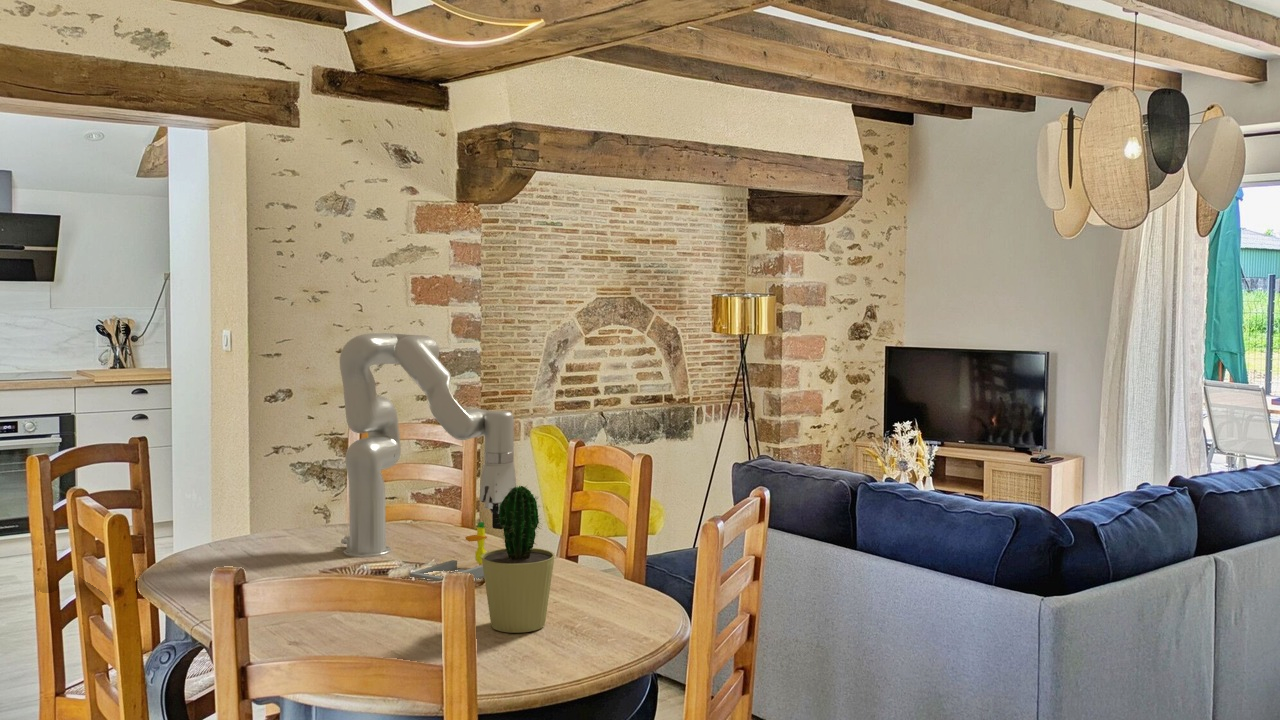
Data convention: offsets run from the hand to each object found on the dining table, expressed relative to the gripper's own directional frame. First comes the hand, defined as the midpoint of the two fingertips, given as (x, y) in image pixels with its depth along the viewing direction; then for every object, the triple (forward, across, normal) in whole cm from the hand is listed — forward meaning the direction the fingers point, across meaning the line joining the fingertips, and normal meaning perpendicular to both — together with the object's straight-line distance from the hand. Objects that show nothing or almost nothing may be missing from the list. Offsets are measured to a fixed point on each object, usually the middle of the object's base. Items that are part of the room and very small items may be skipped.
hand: (499, 528), depth 275 cm
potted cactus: (+10, +41, +36) cm, 55 cm away
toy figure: (+10, +7, -2) cm, 12 cm away
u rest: (+10, +20, 0) cm, 22 cm away
